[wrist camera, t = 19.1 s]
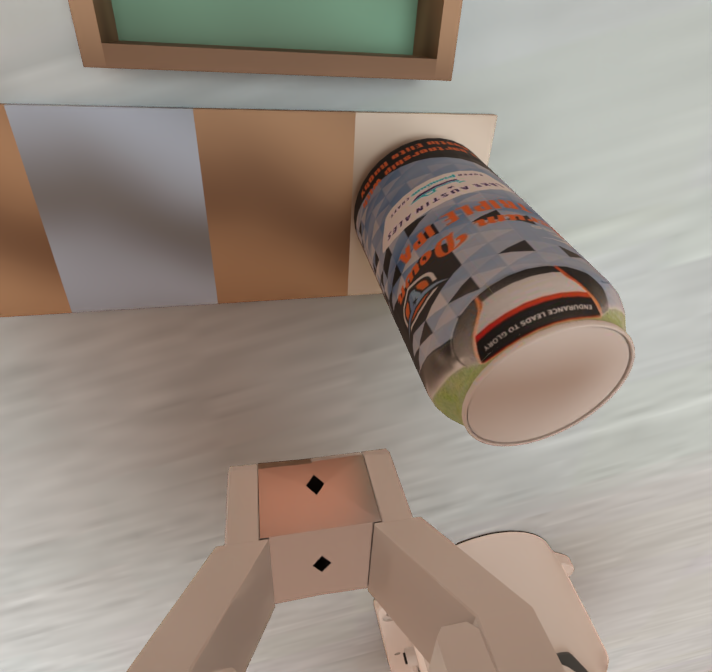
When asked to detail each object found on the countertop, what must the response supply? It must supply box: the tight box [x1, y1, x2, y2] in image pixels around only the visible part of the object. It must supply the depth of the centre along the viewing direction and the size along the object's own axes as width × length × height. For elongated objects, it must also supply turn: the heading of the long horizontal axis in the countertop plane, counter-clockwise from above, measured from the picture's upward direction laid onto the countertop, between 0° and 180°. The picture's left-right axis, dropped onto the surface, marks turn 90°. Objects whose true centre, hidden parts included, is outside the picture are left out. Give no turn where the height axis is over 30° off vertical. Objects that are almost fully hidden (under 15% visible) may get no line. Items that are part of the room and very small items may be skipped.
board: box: [0, 104, 497, 317], centre depth 18 cm, size 8×30×1 cm, turn 87°
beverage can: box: [354, 138, 635, 446], centre depth 17 cm, size 6×7×12 cm
